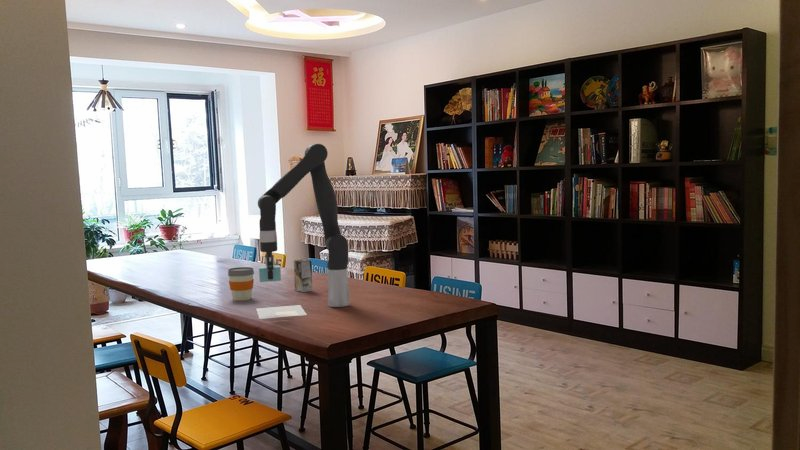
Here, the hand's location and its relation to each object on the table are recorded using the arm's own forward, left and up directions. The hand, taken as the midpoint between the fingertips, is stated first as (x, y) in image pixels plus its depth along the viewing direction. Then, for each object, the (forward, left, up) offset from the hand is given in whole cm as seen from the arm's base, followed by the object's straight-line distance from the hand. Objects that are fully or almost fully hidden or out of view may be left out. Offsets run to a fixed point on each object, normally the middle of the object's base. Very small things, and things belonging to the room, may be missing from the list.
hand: (270, 278), depth 271 cm
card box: (0, 0, -1) cm, 1 cm away
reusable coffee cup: (+11, -37, -15) cm, 42 cm away
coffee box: (-21, -47, -16) cm, 54 cm away
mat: (-4, +4, -15) cm, 16 cm away
